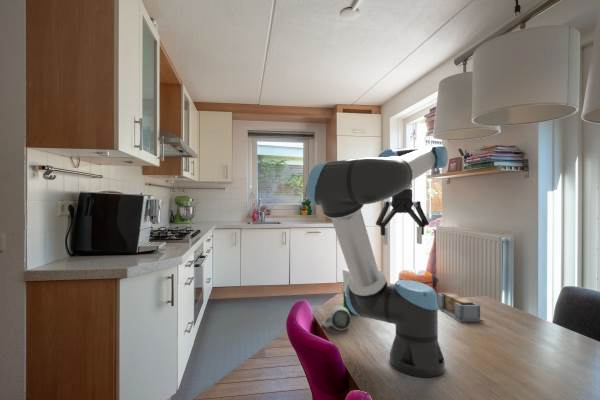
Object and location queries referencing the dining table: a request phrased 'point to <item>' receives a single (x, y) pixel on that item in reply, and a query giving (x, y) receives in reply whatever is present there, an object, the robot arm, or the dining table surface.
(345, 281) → the milk carton
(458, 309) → the endcap holder
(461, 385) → the dining table surface
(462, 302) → the wooden block
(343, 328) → the ceramic mug
